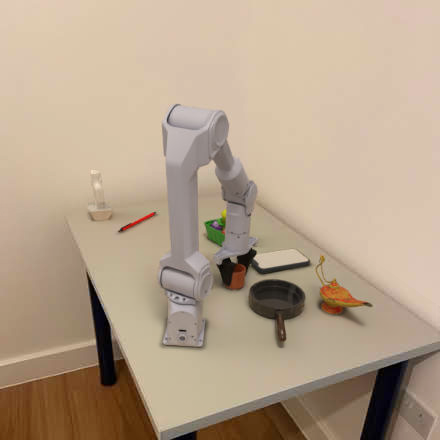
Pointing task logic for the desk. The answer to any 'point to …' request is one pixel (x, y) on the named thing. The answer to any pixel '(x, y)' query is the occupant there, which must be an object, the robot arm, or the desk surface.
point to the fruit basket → (216, 228)
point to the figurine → (98, 199)
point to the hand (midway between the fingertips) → (234, 279)
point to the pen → (136, 222)
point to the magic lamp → (336, 295)
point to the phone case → (279, 260)
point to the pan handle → (280, 326)
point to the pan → (276, 298)
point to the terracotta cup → (238, 277)
